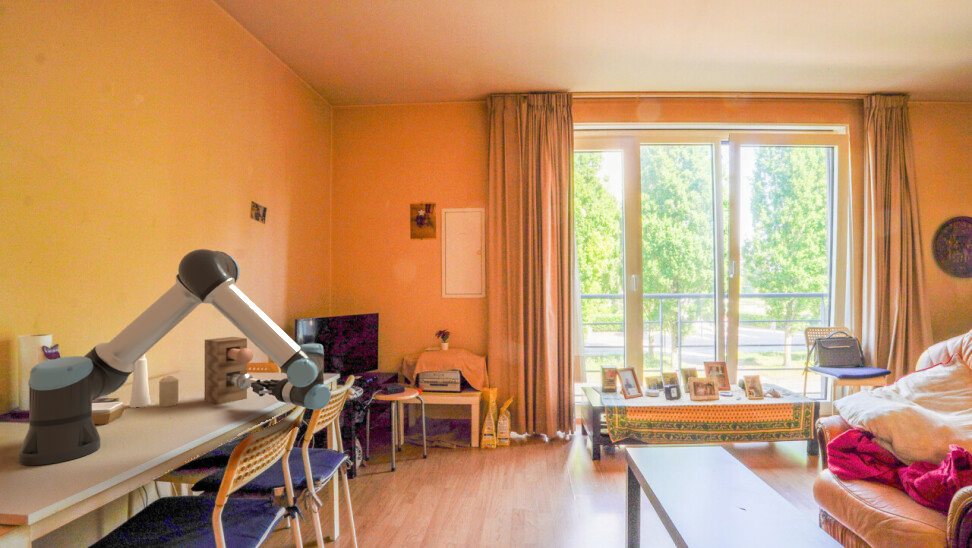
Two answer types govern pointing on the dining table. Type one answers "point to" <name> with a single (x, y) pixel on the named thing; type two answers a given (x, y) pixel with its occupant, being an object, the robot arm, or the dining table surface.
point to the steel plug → (238, 380)
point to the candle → (168, 391)
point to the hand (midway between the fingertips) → (250, 382)
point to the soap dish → (106, 412)
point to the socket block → (223, 370)
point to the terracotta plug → (239, 354)
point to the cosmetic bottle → (140, 385)
